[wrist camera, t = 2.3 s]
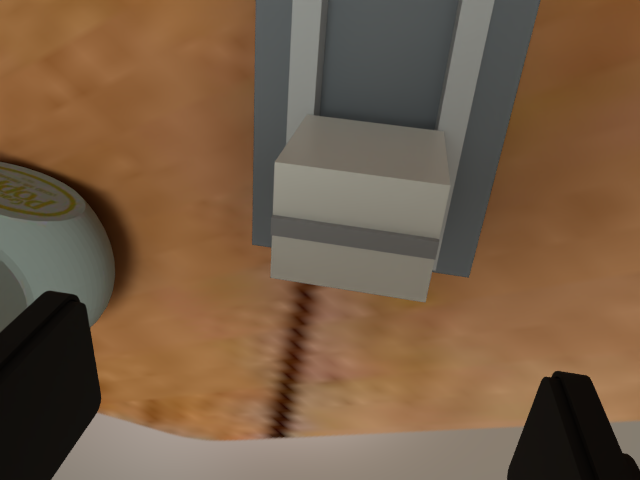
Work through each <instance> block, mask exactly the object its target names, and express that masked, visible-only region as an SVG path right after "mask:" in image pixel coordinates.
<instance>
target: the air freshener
mask: <svg viewBox="0 0 640 480" xmlns="http://www.w3.org/2000/svg"><path fill="white" fill-rule="evenodd" d="M114 280H115V263H114V256H113V252H112V247H111V243H110V241H109V238H108V236H107V234H106V231H105V229H104V227H103V225H102V224H101V222H100V220H99V218H98V217H97V215H96V214H95V212H94V211H93V210H92V209H91V207H90V206H89V205H88V203H87V202H86V201H85V200H84V199H83V198H82V197H81V196H80V195H79V194H78V193H77V192H76V191H75V190H73V189H72V188H70V187H69V186H67V185H66V184H64V183H62V182H60V181H58V180H56V179H54V178H52V177H50V176H48V175H45V174H43V173H40V172H37V171H34V170H31V169H28V168H25V167H21V166H17V165H13V164H8V163H3V162H0V332H1V331H2V330H3V329H4V328H5V327H7V326H8V325H9V324H10V323H11V322H12V321H13V320H14V319H15V318H16V317H17V316H19V315H20V314H21V313H22V312H23V311H24V310H25V309H26V308H27V307H28V306H29V305H31V304H32V303H33V302H34V301H35V300H36V299H37V298H38V297H39V296H40V295H41V294H43V293H44V292H46V291H56V292H63V293H69V294H74V295H77V296H78V298H79V300H80V302H81V303H84V304H85V305H86V308H87V314H88V320H89V326H90V327H91V326H92V325H93V324H94V323H95V322H96V321H97V320H98V319H99V318H100V316H101V315H102V313H103V312H104V310H105V309H106V307H107V305H108V303H109V300H110V297H111V295H112V292H113V287H114Z"/></svg>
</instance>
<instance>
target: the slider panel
mask: <svg viewBox="0 0 640 480" xmlns="http://www.w3.org/2000/svg"><path fill="white" fill-rule="evenodd" d="M539 4H540V0H256V25H255V93H254V161H253V228H252V245H258V246H265V247H271V248H272V235H271V217H272V215H273V193H274V165H275V161H276V159H277V158H278V156H279V155H280V153H281V152H282V150H283V149H284V147H285V146H286V145H287V143H288V142H289V140H290V139H291V137H292V136H293V134H294V133H295V131H296V130H297V128H298V127H299V126H300V124H301V123H302V121H303V120H304V118H305V117H306V115H316V116H324V117H332V118H340V119H348V120H356V121H364V122H372V123H380V124H388V125H396V126H404V127H412V128H420V129H429V130H437V131H444V136H445V144H446V152H447V161H448V169H449V177H450V185H451V186H450V191H449V195H448V200H447V205H446V209H445V214H444V218H443V223H442V228H441V232H440V237H439V246H438V251H437V255H436V260H434V265H433V270H432V272H435V273H442V274H449V275H455V276H462V277H468V278H469V275H470V271H471V267H472V263H473V260H474V256H475V252H476V248H477V244H478V240H479V236H480V232H481V228H482V225H483V221H484V217H485V213H486V209H487V205H488V201H489V197H490V194H491V190H492V186H493V182H494V178H495V174H496V170H497V166H498V163H499V159H500V155H501V151H502V147H503V143H504V139H505V135H506V132H507V128H508V124H509V120H510V116H511V112H512V108H513V104H514V100H515V97H516V93H517V89H518V85H519V81H520V77H521V73H522V69H523V66H524V62H525V58H526V54H527V50H528V46H529V42H530V38H531V35H532V31H533V27H534V23H535V19H536V15H537V11H538V7H539Z"/></svg>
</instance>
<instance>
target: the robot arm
mask: <svg viewBox="0 0 640 480" xmlns="http://www.w3.org/2000/svg"><path fill="white" fill-rule="evenodd" d="M100 403H101V392H100V386H99V380H98V374H97V368H96V362H95V356H94V350H93V344H92V338H91V332H90V326H89V320H88V314H87V308H86V305H85V304H84V303H81V302H80V300H79V298H78V296H77V295H74V294H69V293H63V292H56V291H46V292H44V293H43V294H41V295H40V296H39V297H38V298H37V299H36V300H35V301H34V302H33V303H32V304H31V305H29V306H28V307H27V308H26V309H25V310H24V311H23V312H22V313H21V314H20V315H19V316H17V317H16V318H15V319H14V320H13V321H12V322H11V323H10V324H9V325H8V326H7V327H5V328H4V329H3V330H2V331H1V332H0V480H51V479H52V477H53V476H54V474H55V473H56V472H57V470H58V469H59V467H60V466H61V464H62V463H63V461H64V460H65V458H66V457H67V455H68V454H69V453H70V451H71V450H72V448H73V447H74V445H75V444H76V442H77V441H78V439H79V438H80V436H81V435H82V434H83V432H84V431H85V429H86V428H87V426H88V425H89V423H90V422H91V421H92V419H93V418H94V416H95V415H96V413H97V411H98V409H99V406H100ZM507 480H640V470H639V468H638V466H637V464H636V463H635V461H634V459H633V458H632V457H631V456H629V455H628V454H624V453H622V451H621V449H620V446H619V445H618V441H617V439H616V437H615V435H614V432H613V430H612V427H611V425H610V423H609V420H608V418H607V416H606V413H605V411H604V409H603V406H602V404H601V402H600V399H599V397H598V394H597V392H596V390H595V387H594V385H593V383H592V381H591V379H590V377H588V376H587V375H580V374H574V373H568V372H561V371H555V372H554V373H553V375H552V377H544V378H543V379H542V381H541V383H540V386H539V388H538V391H537V394H536V396H535V399H534V402H533V404H532V407H531V410H530V412H529V415H528V418H527V421H526V423H525V426H524V429H523V431H522V434H521V437H520V439H519V442H518V445H517V447H516V450H515V453H514V455H513V458H512V461H511V463H510V466H509V469H508V475H507Z"/></svg>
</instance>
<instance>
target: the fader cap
mask: <svg viewBox="0 0 640 480" xmlns="http://www.w3.org/2000/svg"><path fill="white" fill-rule="evenodd" d="M450 186H451V185H450V177H449V169H448V161H447V152H446V144H445V136H444V131H437V130H429V129H420V128H412V127H404V126H396V125H388V124H380V123H372V122H364V121H356V120H348V119H340V118H332V117H324V116H316V115H306V117H305V118H304V120H303V121H302V123H301V124H300V126H299V127H298V128H297V130H296V131H295V133H294V134H293V136H292V137H291V139H290V140H289V142H288V143H287V145H286V146H285V147H284V149H283V150H282V152H281V153H280V155H279V156H278V158H277V159H276V161H275V165H274V193H273V215H272V217H271V235H272V249H271V277H270V278H275V279H281V280H287V281H294V282H300V283H306V284H312V285H319V286H325V287H331V288H338V289H344V290H350V291H357V292H363V293H369V294H375V295H382V296H388V297H394V298H401V299H407V300H413V301H420V302H426V297H427V293H428V288H429V284H430V279H431V274H432V270H433V265H434V260H436V255H437V251H438V246H439V237H440V232H441V228H442V223H443V218H444V214H445V209H446V205H447V200H448V195H449V191H450Z"/></svg>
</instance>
